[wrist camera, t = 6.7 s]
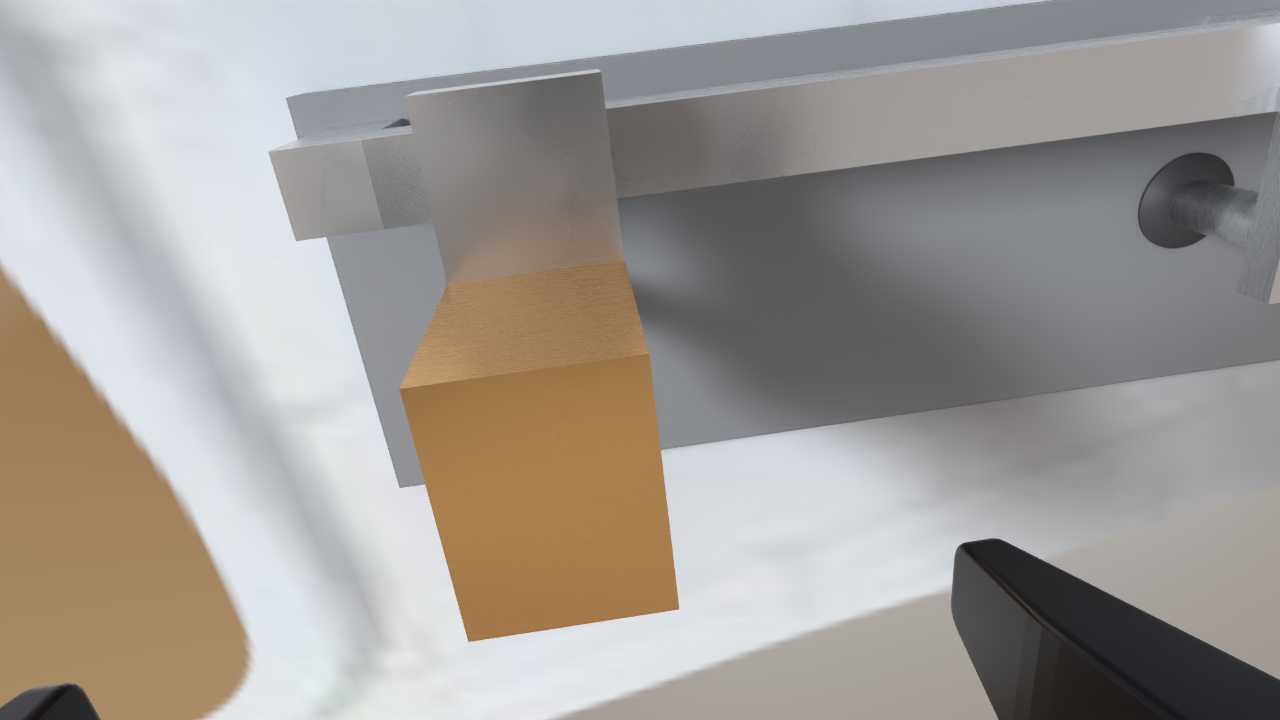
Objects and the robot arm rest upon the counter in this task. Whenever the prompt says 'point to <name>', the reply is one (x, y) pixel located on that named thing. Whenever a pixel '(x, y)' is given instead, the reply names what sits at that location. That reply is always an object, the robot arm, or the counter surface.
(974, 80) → the divider frame
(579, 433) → the sliding leg
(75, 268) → the counter surface
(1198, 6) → the bolt plate
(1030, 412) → the counter surface
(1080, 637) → the robot arm
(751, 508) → the counter surface
